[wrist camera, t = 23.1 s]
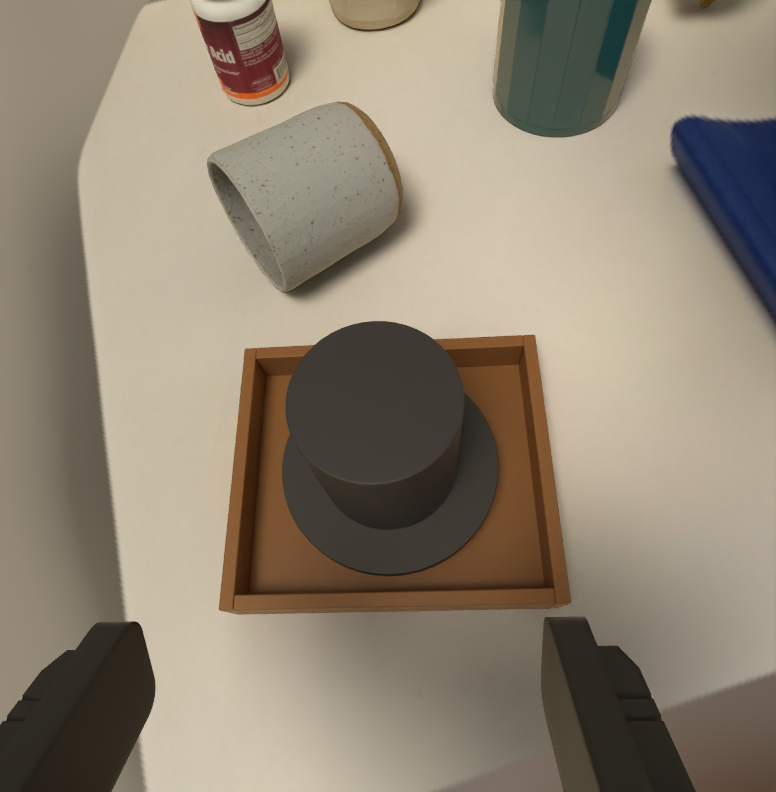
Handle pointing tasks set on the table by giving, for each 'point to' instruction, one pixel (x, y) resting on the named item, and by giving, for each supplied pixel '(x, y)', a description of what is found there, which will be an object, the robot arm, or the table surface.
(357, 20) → the vase
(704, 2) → the decorative stone
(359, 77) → the table surface
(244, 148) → the ceramic mug
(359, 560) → the flanged dark cylinder
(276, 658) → the table surface
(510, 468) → the tray
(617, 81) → the cup
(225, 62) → the pill bottle
